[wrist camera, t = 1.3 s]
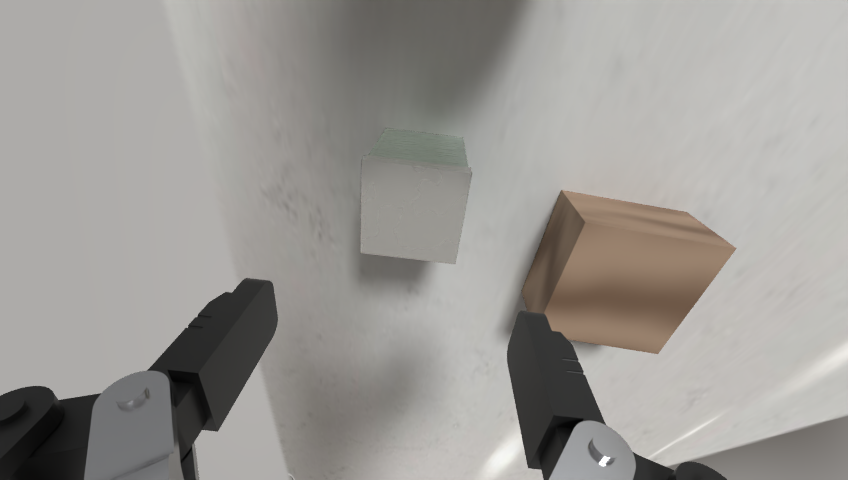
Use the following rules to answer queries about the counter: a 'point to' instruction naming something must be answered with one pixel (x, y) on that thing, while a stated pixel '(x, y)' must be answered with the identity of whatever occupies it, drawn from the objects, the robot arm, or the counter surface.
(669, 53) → the counter surface
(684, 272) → the walnut block
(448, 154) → the tea tin
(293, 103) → the counter surface
